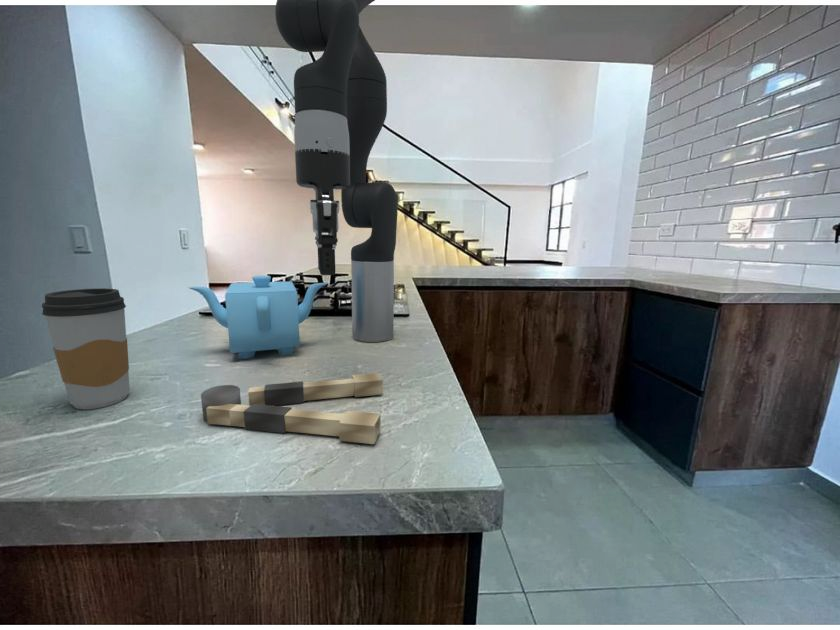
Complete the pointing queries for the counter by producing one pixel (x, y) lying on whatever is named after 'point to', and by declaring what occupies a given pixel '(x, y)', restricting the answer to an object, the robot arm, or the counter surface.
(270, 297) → the teakettle
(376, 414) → the tongs frame
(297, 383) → the tong arm
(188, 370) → the counter surface
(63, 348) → the coffee cup
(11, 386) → the counter surface
